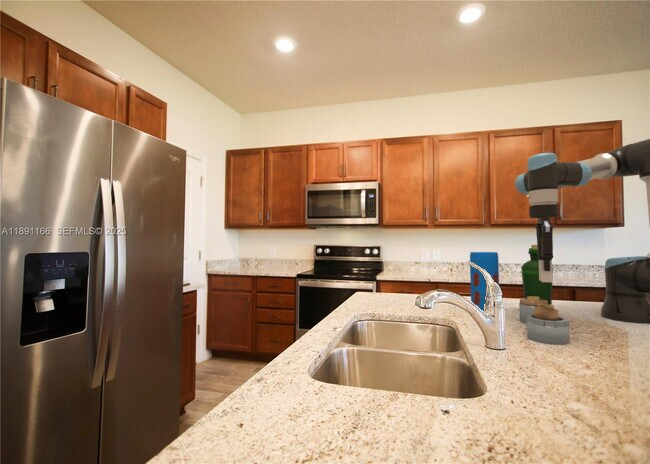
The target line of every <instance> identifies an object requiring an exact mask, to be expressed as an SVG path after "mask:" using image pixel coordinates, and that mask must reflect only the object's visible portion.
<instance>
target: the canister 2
mask: <svg viewBox="0 0 650 464" xmlns="http://www.w3.org/2000/svg"><path fill="white" fill-rule="evenodd" d="M526 319H527V323H526V338H527V339H528V340H531V341H534V342H536V343H540V344H547V345H558V346H562V345H568V344H570V342H571V341H570V320H569V318H567V317H565V316H564V317H563V316H560V315H558V321H548V320H541V319H536V318H534V314H528V315H526Z"/></svg>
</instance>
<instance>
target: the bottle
mask: <svg viewBox="0 0 650 464" xmlns="http://www.w3.org/2000/svg"><path fill="white" fill-rule="evenodd" d="M528 248H529V249H528V253H527V254H529V257H530V260H527V261H526V262H524V263H523V265H522V266H521V267H520V269H521V277H522V278H521V279H522V289H523V290H522V291H523V298H527V296H538V297H539V299H544V300H547V301H548V305H553V299H552V298H553V282H541V280H539V258H538V256H537V254H538V252H537V244H531V247H528ZM553 275H554V268H553V267H552V280H554V279H553V278H554V277H553Z"/></svg>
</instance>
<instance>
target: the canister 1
mask: <svg viewBox="0 0 650 464" xmlns="http://www.w3.org/2000/svg"><path fill="white" fill-rule="evenodd" d="M538 304H547V305H548V301H547V300H544V299H539V297H538V296H527V298H524V297H520V298H519V302H518V305H519V306H518V307H519V309H518V310H519V313H518V314H519V322H520V323H523V324H527V319H526V315H528V314H534V308H536V307H538Z"/></svg>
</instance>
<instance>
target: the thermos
mask: <svg viewBox="0 0 650 464" xmlns="http://www.w3.org/2000/svg"><path fill="white" fill-rule="evenodd" d="M470 261H471V262H473V263H475V264H476V265H478V266H480V267H481V268H483V269H485V270H486V271H487V272H488V273H489V274H490V275H491V277H492V279H493V280H494V282H496V283H497V284H498V285H499V286H500V273H499V272H500V271H499V270H500V269H499V266H500V265H499V254H498V252H496V251H471V252H470V253H469V262H470ZM469 268H470V271H469V272H470V274H469V275H470V302H471V301H472V302H473V303H474V304H475V305H477V306H478V307H479V308H480V309H481V310H483V311H484V304H485V296H486V280H485V278H484V276H483V274H482V273H481V272H480V271H479V270H478V269H476V268H474V267H472V266H471V265H470V264H469Z"/></svg>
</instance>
